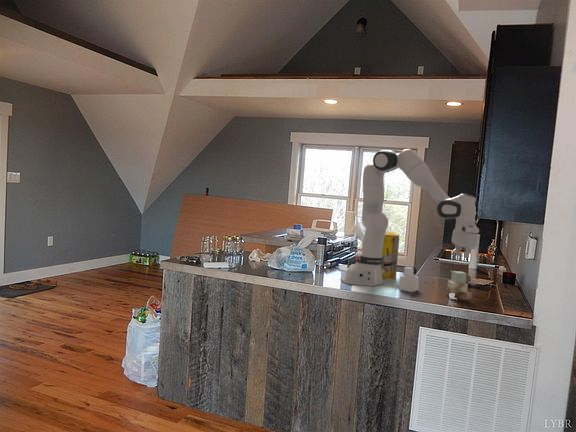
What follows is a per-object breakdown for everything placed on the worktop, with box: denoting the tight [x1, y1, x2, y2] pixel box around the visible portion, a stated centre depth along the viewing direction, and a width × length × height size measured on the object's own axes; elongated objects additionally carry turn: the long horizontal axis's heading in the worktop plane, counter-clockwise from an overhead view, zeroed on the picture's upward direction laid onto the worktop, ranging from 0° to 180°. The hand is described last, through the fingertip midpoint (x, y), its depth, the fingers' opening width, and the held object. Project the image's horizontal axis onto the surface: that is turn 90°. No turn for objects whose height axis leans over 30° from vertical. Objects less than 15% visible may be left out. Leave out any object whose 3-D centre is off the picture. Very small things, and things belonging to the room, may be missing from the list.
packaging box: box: [381, 231, 400, 280], centre depth 276 cm, size 16×16×25 cm
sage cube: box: [450, 270, 468, 284], centre depth 231 cm, size 5×5×5 cm
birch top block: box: [446, 280, 469, 293], centre depth 232 cm, size 7×7×4 cm
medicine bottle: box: [398, 266, 420, 293], centre depth 242 cm, size 7×7×12 cm
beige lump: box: [446, 288, 468, 301], centre depth 232 cm, size 7×7×4 cm
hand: (461, 255), depth 230 cm, fingers open, 8 cm apart
